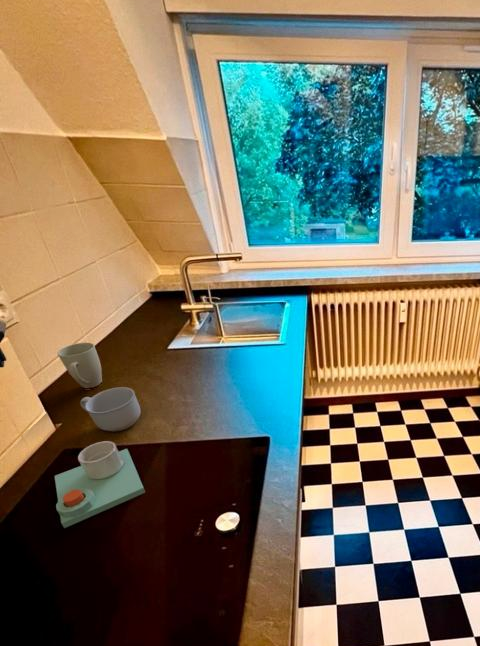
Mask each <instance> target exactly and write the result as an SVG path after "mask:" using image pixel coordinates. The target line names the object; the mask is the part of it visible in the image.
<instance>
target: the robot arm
mask: <svg viewBox="0 0 480 646" xmlns="http://www.w3.org/2000/svg"><path fill="white" fill-rule="evenodd" d="M6 328H7V322H6V321H5V320H2V319H0V344H1V343H2V341H3V340H4V338H5V335H6ZM5 362H7V357H6V355H5V353H4V352H3V350H2V348H1V347H0V368H4V367H5Z"/></svg>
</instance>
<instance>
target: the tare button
mask: <svg viewBox="0 0 480 646" xmlns="http://www.w3.org/2000/svg"><path fill="white" fill-rule="evenodd" d="M83 500H84V495H83V494H82V492H81V491H80V490H73V491H70V492H68V493H67V494H65V495H64V497H63V501H64V503H65V504H66V506H68V507H73V506H76V505H78V504H80V503H81V502H82V501H83Z"/></svg>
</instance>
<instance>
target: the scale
mask: <svg viewBox="0 0 480 646" xmlns="http://www.w3.org/2000/svg"><path fill="white" fill-rule="evenodd" d="M118 451H119V453H120V455H121V457H122V460H123V465H122V467H121V468H120V470H119V471H118V472H117V473H115V474H114V475H112V476H110V477H107V478H104V479H91V478H89V477H88V476H87V475H86V473H85V471H84V469H83V467H82V466H81V465H79V466H77V467H74V468H72V469H69V470H67V471H63V472H61V473H58V474H56V475H54V482H55V483H54V484H55V489H56V497H57V503H56V505H55V509H56V511H57V513H58V515H59V516H60V517H59V518H60V523H61V525H62V527H63V528H64V529H66V528H68V527H71V526H73V525H75V524H77V523H80V522H82V521H84V520H86V519H88V518H90V517H93V516H95V515H98V514H100V513H102V512H104V511H107V510H109V509H111V508H113V507H115V506H118V505H120V504H123V503H125V502H127V501H130V500H132V499H134V498H136V497H138V496H141V495H143V494H145V493H146V489H145V488H144V485H143V483H142V481H141V477H140V476H139V473H138V471H137V469H136V466H135V463H134V461H133V459H132V456H131V454H130V451H129V450H128V448H124V449H122V450H118ZM73 490H80V491H81V492H82V494H83V495H84V500H83V501H82V502H81V503H80V504H78V505H76V506H73V507H68V506H66V504H65V503H64V501H63V497H64V495H65V494H67V493H68V492H70V491H73Z"/></svg>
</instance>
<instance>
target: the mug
mask: <svg viewBox="0 0 480 646" xmlns="http://www.w3.org/2000/svg"><path fill="white" fill-rule="evenodd" d="M56 354H57V356H58V357H59V359H60V361H61V363H62V364H63V366H64V368H65V369H66V371H67V372H68V374H69V375H70V376H71V377H72V379H74V380H75V381H76V383H78V384H79V385H80V386H81V387H82V388H83V387H84V388H89V387H94V386H97V385H99V384H100V383H101V382H102V383H103V378H102V377H103V374H102V373H103V372H102V365H101V364H102V363H101V360H100V357H99V355H98V352H97V349H96V346H95V344H94V343H92V342H79V343H74V344H70V345H67V346H64V347H62V348H61V349H59V350H58V351H57V353H56ZM84 388H83V389H84Z"/></svg>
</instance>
